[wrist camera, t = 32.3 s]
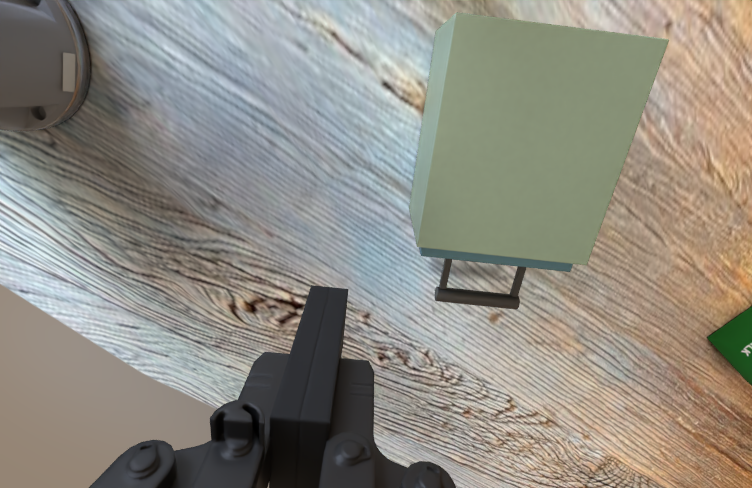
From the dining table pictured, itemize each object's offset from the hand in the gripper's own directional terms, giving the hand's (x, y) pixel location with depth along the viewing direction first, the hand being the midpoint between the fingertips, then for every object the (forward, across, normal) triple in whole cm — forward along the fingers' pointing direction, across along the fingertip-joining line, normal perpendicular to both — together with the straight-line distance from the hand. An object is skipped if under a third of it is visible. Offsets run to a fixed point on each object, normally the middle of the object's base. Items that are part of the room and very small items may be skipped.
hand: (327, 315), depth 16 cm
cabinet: (+26, -13, -5) cm, 29 cm away
